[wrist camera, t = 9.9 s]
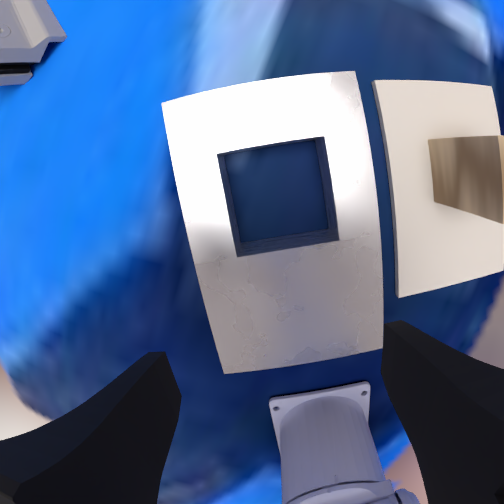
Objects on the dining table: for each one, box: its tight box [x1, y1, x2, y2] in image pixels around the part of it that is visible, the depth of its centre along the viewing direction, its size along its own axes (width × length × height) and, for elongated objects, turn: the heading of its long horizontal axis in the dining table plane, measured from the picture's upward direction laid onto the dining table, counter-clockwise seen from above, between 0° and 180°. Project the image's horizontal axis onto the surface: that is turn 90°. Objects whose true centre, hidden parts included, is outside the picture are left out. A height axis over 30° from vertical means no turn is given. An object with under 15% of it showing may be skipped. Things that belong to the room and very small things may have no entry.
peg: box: [428, 135, 504, 224], centre depth 13 cm, size 4×4×7 cm
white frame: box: [162, 71, 383, 374], centre depth 17 cm, size 16×10×3 cm, turn 10°
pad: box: [372, 80, 504, 298], centre depth 17 cm, size 14×10×1 cm
